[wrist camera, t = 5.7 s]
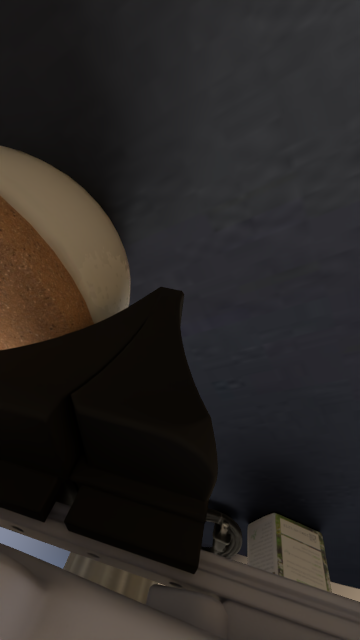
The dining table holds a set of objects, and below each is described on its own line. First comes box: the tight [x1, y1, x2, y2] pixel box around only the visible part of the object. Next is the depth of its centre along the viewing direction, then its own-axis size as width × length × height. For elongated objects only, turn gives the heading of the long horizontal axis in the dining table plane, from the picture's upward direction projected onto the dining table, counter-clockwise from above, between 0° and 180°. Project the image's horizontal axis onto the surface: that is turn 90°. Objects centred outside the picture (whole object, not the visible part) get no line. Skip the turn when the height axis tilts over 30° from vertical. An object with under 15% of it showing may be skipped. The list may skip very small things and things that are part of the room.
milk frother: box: [63, 508, 242, 605], centre depth 25 cm, size 14×16×15 cm
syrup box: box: [247, 513, 332, 593], centre depth 23 cm, size 6×6×14 cm
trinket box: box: [0, 146, 130, 350], centre depth 11 cm, size 11×11×9 cm
